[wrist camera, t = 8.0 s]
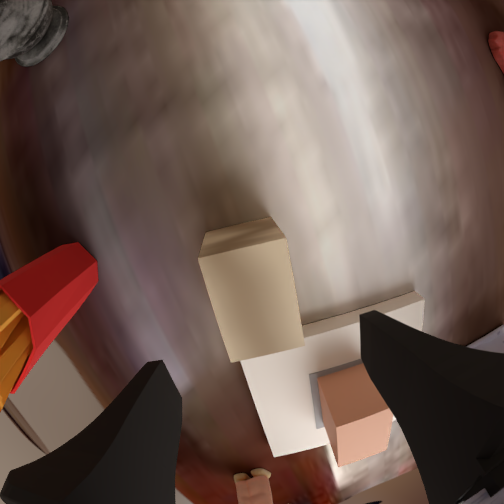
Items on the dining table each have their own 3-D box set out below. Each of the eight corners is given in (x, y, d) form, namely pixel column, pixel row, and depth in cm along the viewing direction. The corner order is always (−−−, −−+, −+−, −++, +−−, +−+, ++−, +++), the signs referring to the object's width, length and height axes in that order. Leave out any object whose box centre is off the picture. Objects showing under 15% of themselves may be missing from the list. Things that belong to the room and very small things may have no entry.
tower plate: (414, 290, 20) (425, 299, 19) (401, 405, 24) (408, 415, 23) (237, 340, 20) (238, 354, 19) (272, 445, 24) (274, 457, 23)
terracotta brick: (367, 361, 20) (394, 405, 15) (366, 408, 22) (386, 449, 17) (317, 377, 20) (336, 427, 15) (323, 423, 22) (338, 467, 17)
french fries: (74, 222, 17) (-60, 300, 5) (115, 262, 18) (10, 382, 6) (29, 300, 18) (-60, 390, 7) (63, 333, 19) (-11, 441, 8)
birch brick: (270, 216, 18) (286, 237, 13) (287, 302, 20) (305, 345, 15) (206, 231, 18) (197, 258, 13) (229, 316, 20) (230, 362, 15)
